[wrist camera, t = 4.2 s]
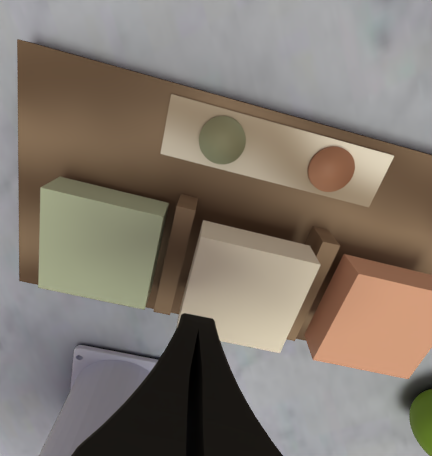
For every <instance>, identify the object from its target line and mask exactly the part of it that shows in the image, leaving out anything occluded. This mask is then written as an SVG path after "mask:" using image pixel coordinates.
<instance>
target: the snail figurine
mask: <svg viewBox="0 0 432 456" xmlns="http://www.w3.org/2000/svg"><path fill="white" fill-rule="evenodd" d="M409 417H410V425H411V428H412V431H413V434H414V436H415V438H416V440H417V441H418V443H419V444H420V446H421V447H422V448H423V449H424V450H425V452H426V453H427V454H428V455H430V456H432V389H429V390H426V391H424V392H422V393H420V394H419V395H418V396H417V397H416V398H415V399H414V401H413V403H412V405H411V408H410V416H409Z"/></svg>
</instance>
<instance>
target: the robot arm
mask: <svg viewBox="0 0 432 456" xmlns="http://www.w3.org/2000/svg"><path fill="white" fill-rule="evenodd" d="M39 456H283V455H282V454H281V453H280V451H279V450H278V449H277V447H276V446H275V445H274V443H273V442H272V441H271V439H270V438H269V436H268V435H267V433H266V432H265V430H264V429H263V427H262V426H261V424H260V423H259V421H258V420H257V418H256V417H255V415H254V413H253V412H252V410H251V408H250V407H249V405H248V403H247V401H246V400H245V398H244V396H243V394H242V392H241V390H240V388H239V386H238V384H237V382H236V380H235V378H234V376H233V373H232V371H231V369H230V367H229V364H228V362H227V359H226V356H225V354H224V351H223V348H222V345H221V342H220V339H219V336H218V333H217V329H216V325H215V321H214V319H212V318H207V317H202V316H197V315H192V314H187V313H183V314H181V317H180V321H179V324H178V326H177V329H176V331H175V333H174V335H173V337H172V339H171V341H170V342H169V344H168V346H167V348H166V349H165V351H164V353H163V354H162V356H161V357H160V359H159V360H157V359H152V358H147V357H142V356H136V355H131V354H126V353H121V352H116V351H111V350H105V349H100V348H95V347H90V346H85V345H78V346H76V348H75V349H74V353H73V364H72V376H71V387H70V393H69V395H68V397H67V399H66V401H65V403H64V405H63V407H62V409H61V412H60V414H59V416H58V418H57V420H56V422H55V424H54V426H53V428H52V430H51V432H50V434H49V436H48V438H47V440H46V442H45V444H44V446H43V448H42V450H41V452H40V454H39Z"/></svg>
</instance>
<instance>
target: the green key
mask: <svg viewBox="0 0 432 456" xmlns="http://www.w3.org/2000/svg"><path fill="white" fill-rule="evenodd" d="M168 207H169V203H167V202H163V201H159V200H155V199H151V198H146V197H142V196H138V195H134V194H130V193H126V192H122V191H118V190H113V189H109V188H105V187H101V186H97V185H93V184H89V183H85V182H80V181H76V180H72V179H68V178H64V177H58V178H56V179H55V180H53V181H51V182H49V183H48V184H46V185H44V186H42V187H40V232H39V278H38V288H43V289H47V290H52V291H57V292H62V293H67V294H71V295H76V296H81V297H86V298H91V299H95V300H100V301H105V302H110V303H115V304H120V305H124V306H129V307H134V308H139V309H144V310H145V307H146V304H147V301H148V298H149V295H150V292H151V289H152V284H153V279H154V274H155V270H156V265H157V260H158V255H159V250H160V245H161V240H162V236H163V231H164V226H165V221H166V216H167V211H168Z"/></svg>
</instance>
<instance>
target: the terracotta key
mask: <svg viewBox="0 0 432 456" xmlns="http://www.w3.org/2000/svg"><path fill="white" fill-rule="evenodd" d="M304 335H305V338H306V341H307V344H308V347H309V350H310V353H311V355H312V358H313V360H317V361H322V362H326V363H331V364H336V365H341V366H346V367H351V368H356V369H361V370H366V371H371V372H376V373H381V374H386V375H391V376H395V377H400V378H405V379H409V378H410V376H411V375H412V373H413V372H414V371H415V369H416V368H417V367H418V365H419V364H420V363H421V361H422V360H423V358H424V357H425V356H426V354H427V353H428V352H429V350H430V349H431V348H432V275H430V274H426V273H422V272H418V271H413V270H409V269H405V268H401V267H397V266H393V265H388V264H384V263H380V262H376V261H372V260H368V259H363V258H359V257H355V256H351V255H347V254H344V255H343V257H342V259H341V261H340V263H339V265H338V267H337V269H336V271H335V273H334V275H333V277H332V279H331V281H330V283H329V285H328V287H327V289H326V291H325V293H324V295H323V297H322V299H321V301H320V303H319V305H318V307H317V309H316V311H315V313H314V316H313V318H312V320H311V322H310V324H309V326H308V328H307V330H306V332H305V334H304Z"/></svg>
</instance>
